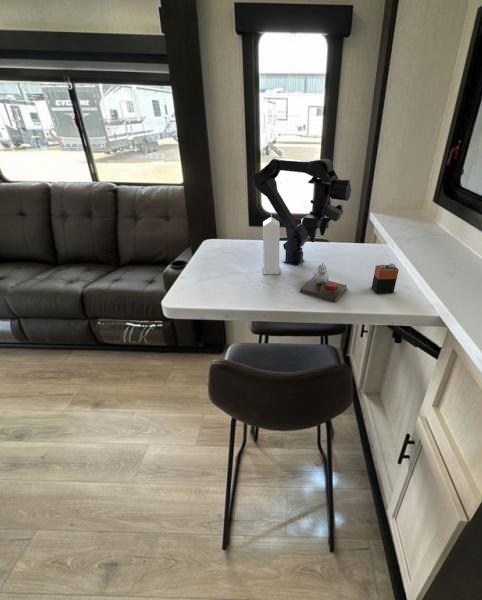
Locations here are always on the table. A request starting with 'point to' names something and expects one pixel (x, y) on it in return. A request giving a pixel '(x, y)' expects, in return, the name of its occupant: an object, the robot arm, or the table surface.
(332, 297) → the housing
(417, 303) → the table surface
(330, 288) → the button
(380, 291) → the battery
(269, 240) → the milk
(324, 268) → the white bunny figurine
